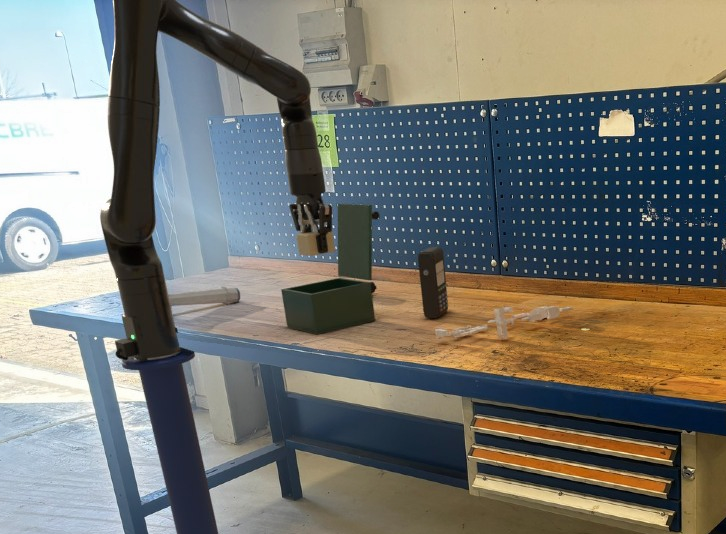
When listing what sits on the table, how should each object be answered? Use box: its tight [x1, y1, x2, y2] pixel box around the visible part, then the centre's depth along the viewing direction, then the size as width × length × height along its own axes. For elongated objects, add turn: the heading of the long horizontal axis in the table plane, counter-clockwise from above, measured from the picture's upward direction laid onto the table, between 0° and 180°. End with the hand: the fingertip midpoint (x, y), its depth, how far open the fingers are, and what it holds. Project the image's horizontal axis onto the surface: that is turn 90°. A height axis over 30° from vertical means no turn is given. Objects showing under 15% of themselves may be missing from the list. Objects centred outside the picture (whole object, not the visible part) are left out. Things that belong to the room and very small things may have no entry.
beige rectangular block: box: [295, 230, 336, 257], centre depth 188 cm, size 6×5×4 cm
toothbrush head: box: [168, 286, 241, 310], centre depth 219 cm, size 5×7×25 cm
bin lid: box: [337, 203, 380, 281], centre depth 196 cm, size 16×13×6 cm
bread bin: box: [280, 277, 376, 335], centre depth 194 cm, size 16×13×9 cm
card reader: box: [417, 246, 449, 319], centre depth 194 cm, size 9×4×15 cm, turn 168°
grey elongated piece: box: [434, 305, 574, 341], centre depth 177 cm, size 6×35×12 cm
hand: (316, 251), depth 189 cm, fingers closed on beige rectangular block, 4 cm apart
